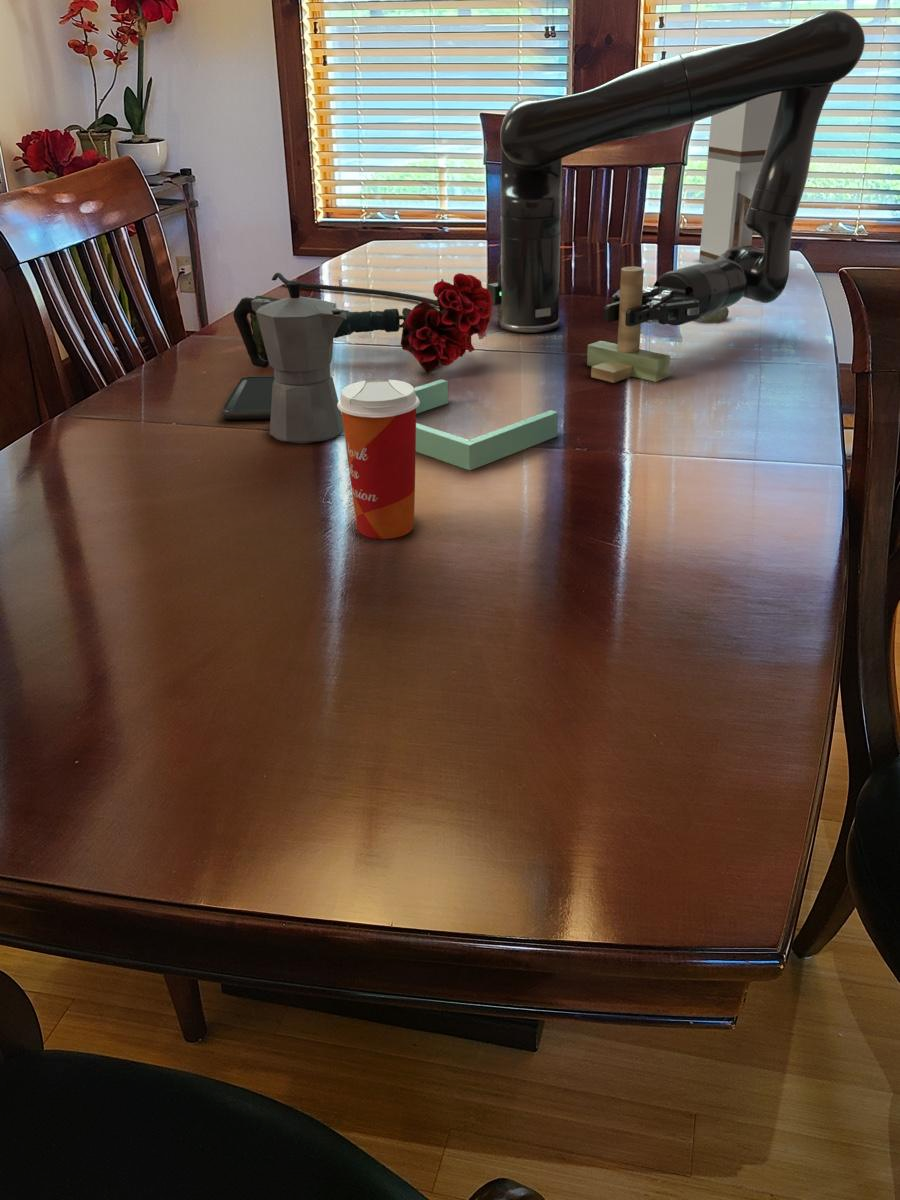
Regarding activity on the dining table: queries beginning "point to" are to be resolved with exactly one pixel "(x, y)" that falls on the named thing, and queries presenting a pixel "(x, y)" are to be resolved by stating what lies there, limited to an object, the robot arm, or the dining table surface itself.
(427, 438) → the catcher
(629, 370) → the beige square block
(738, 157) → the white pillar
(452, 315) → the carnation
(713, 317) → the soupspoon
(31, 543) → the dining table surface
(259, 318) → the coffeepot
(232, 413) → the phone
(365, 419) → the paper cup
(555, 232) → the robot arm
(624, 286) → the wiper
